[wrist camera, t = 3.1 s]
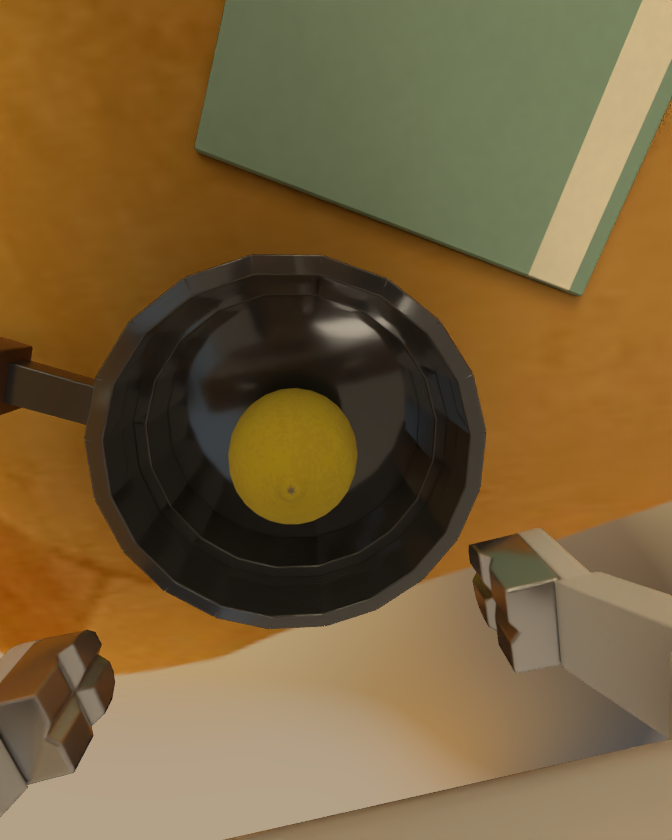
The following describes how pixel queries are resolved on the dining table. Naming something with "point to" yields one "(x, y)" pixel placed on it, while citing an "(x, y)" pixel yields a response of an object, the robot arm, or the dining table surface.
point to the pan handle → (41, 385)
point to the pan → (249, 381)
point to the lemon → (292, 456)
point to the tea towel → (450, 116)
